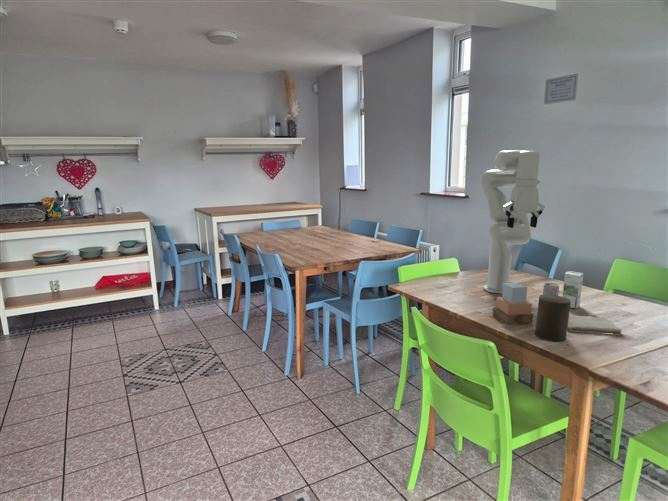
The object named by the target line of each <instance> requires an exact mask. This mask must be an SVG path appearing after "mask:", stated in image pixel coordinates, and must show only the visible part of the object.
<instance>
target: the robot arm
mask: <svg viewBox="0 0 668 501" xmlns="http://www.w3.org/2000/svg"><path fill="white" fill-rule="evenodd" d="M540 156H541V153H540V151H538V150H517V149H513V150H511V149H510V150H501V151H499V152H498V153H497V155H496V156H495V157H494V159H493V165H494V168H496V169H489V170H486V171H484V172H483V174H482V176H481V187H482V191H483V194H484V195H485V197H486V199H487V204H488V211H489V218H490V220H491V223H493V224H492V225H491V226H490V228H489V231H488V233H489V258H488V271H487V284H485V285H484V284H483V290H484V291H486V292H488V293H492V294H501V295H502V292H503V283H519V282H518V281H517V282H516V281H514V282H513V281H510V277H511V267H512V266H511V265H512V258H513V256H512V255H513V254H512V252H511V249H510V248H509V247H508V246H507V245H526V244H528V243H529V242H530V241H531V236H532V235H531V228H537V225H538V218H540V215H542V213H543V211H544V210H545V208H546V206H545V205H544V204H542V203H540V202H539V198H540V197H539V196H540V194H539V188H538V187H537V185H539V184H540V183H541V182H540V180H538V179H539V178H538V176H539V169H540V167H539V166H540V159H541V158H540ZM499 188H506V189H507V188H512V190H511V192H510V198H509V201H508V199H507V196H506V194H505V192H503V191H502V190H500V189H499ZM528 214H531V215H532V216H530V223H529V217H528Z"/></svg>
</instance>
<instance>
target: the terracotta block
mask: <svg viewBox="0 0 668 501" xmlns="http://www.w3.org/2000/svg"><path fill="white" fill-rule="evenodd" d="M495 299H496V300H495V301H496V303H495V307H497V308H498V309H500V310H501V311H503V312H504V313H506V314H507V315H518V314H531V313H532V307H533V306H532V304H533V303H531V302H529V301H528V300H526V303H510V302H508V301H506V300H504V299H502V296H496V298H495Z"/></svg>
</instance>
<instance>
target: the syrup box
mask: <svg viewBox="0 0 668 501" xmlns="http://www.w3.org/2000/svg"><path fill="white" fill-rule="evenodd" d="M583 281H584V273H583V272H579V271H578V272H577V271H573V270H567V271H566V272H565V273H564V280H563V287H562V288H563V289H562V295H561V296H562V297H566V298H569V299H570V300H571V304H570V309H572V308H574V309H573V310H577V309H578V308H579V307H580V304H581V295H582V288H583ZM576 308H577V309H576Z"/></svg>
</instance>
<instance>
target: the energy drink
mask: <svg viewBox="0 0 668 501" xmlns="http://www.w3.org/2000/svg"><path fill="white" fill-rule="evenodd" d="M559 286H560V285H559V284H557V283H554V282H545V283H544V285H543V289H542V295H543V294H548V295H558V296H559V292H560V291H559V289H560V287H559Z"/></svg>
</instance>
